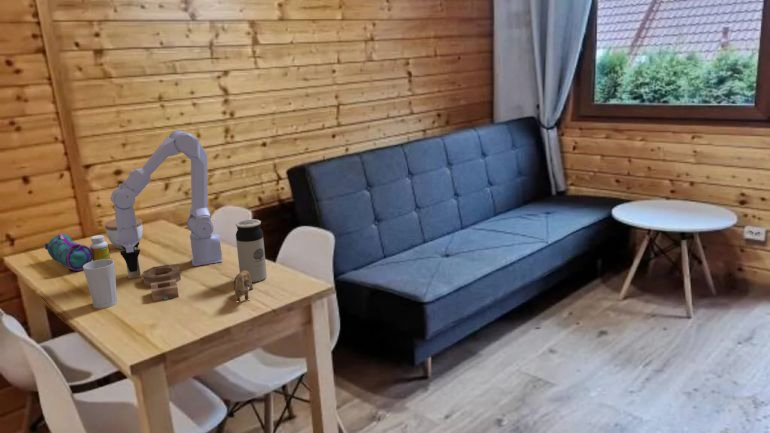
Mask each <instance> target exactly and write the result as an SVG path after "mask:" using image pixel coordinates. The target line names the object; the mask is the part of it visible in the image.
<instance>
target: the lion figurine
mask: <svg viewBox="0 0 770 433" xmlns="http://www.w3.org/2000/svg"><path fill="white" fill-rule="evenodd" d="M232 286H233V290H234V294H235V297H236V300H235V302H236V301H240V302H241V297H240V295H241V294H244V301H246V300H248V299H250V298H249V290H250V289H252V290H254V287H253V283H252V281H251V276H250V273H249V272H248V271H245V270H244V271H242V272H240V271H239V273H238V274H236V276H235V277H234V280H233V282H232ZM248 288H249V289H248ZM240 293H241V294H240Z"/></svg>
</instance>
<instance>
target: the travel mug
mask: <svg viewBox="0 0 770 433" xmlns="http://www.w3.org/2000/svg"><path fill="white" fill-rule="evenodd" d="M261 223H262V220H259V219H253V218H252V219H243V220H240V221H237V222H236V223H235V227H237V231H236V233H235V239H236V250H237V259H238V270H239V273H240V272H242V271H244V270H245V271H248V272H249V273H250V276H251V281H252V282H253V283H258V282H257V281H259V282H261V280H262V281H263V280H265V279H266V278H267V274H268V273H267V265H266V254H265V253H266V252H265V244H264V243H265V242H264V232H263V230H262V229H261V225H262V224H261Z"/></svg>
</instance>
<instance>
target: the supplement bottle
mask: <svg viewBox="0 0 770 433" xmlns="http://www.w3.org/2000/svg"><path fill="white" fill-rule="evenodd" d="M90 239H91V243H90V246H89V248H90V249H91V250H92V253H93V259H92V261H96V260H102V259H110V260H111V254H110V249H109V244H108V242H107V241H105V240H106V239H105V235H101V234H99V235H93V236H91V238H90Z"/></svg>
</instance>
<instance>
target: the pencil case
mask: <svg viewBox="0 0 770 433" xmlns="http://www.w3.org/2000/svg"><path fill="white" fill-rule="evenodd" d="M44 249H45V250H47V253H48V255H49V256H50V257H51V259H53V260H54V261H56V262H57V263H59V264H60V265H62V266H64V267H66V268H68V269H70V270H72V271H75V272H82V271H84V269H83V265H85V264H86V263H89V262H92V261H93V260H92V259H93V253H92V250H91V249H90V246H87V245H84V244H80V243H78V242H75V241H73V239H72V238H71V236H69V235H67V234H66V233H59V234H57V235H55V236H54V237H52V238H51V239H50V240H49V242H48V243H44Z"/></svg>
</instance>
